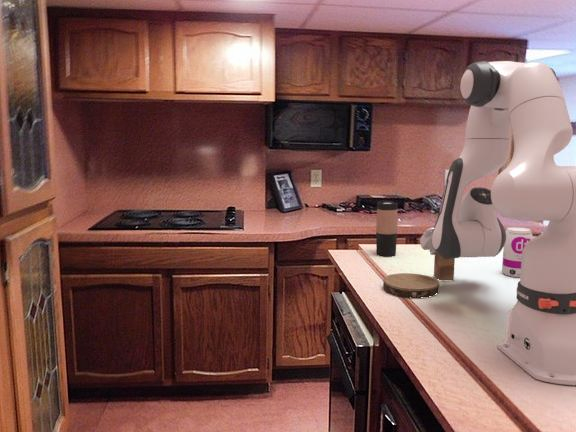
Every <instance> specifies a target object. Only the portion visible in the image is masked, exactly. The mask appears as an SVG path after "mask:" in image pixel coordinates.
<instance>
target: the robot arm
mask: <svg viewBox="0 0 576 432" xmlns="http://www.w3.org/2000/svg"><path fill="white" fill-rule="evenodd" d="M560 85H561V84H560V83H559V81H558V76H557V74H556V71H555V70H554V69H553V68H552V67H550V66H549V65H547V64H546V63H543V62H541V61H540V62H538V61H531V62H518V61H513V60H499V61H498V60H497V61H487V60H483V61H477V62H472V63H470V64H469V65H468V66H467V67H466V68H465V69H464V71H463V72H462V75H461V78H460V83H459V93H460V97H461V99H462V100H463V102H464V103H465V105H466V104H467V105H469V106H470V108H469V110H468V111H469V112H468V117H467V120H466V121H467V122H466V127H465V135H464V145H463V148H462V151H461V153H460V155H459V157H457V158H456V159H455V160H453V161H452V162H451V165H450V166H449V170H448V171H447V176H446V180H445V183H444V189H443V191H442V192H443V193H442V197H441V202H440V206H439V210H438V213H437V218H436V222H435V224H434V226H433V227H429V228H427V229H426V230H425V231H424V232H423V234H422V235H421V237H420V238H419V243H420V247H421V249H422V250H424V251H429V254H430V256H435V255H436V253H438V254H439V255H440V256H441V257H443V258H444V259H452V258H455V259H458V258H491V257H493V258H494V257H496V256H497V255H499V254H500V253H501V252H502V250H503V248H504V244H505V241H506V232H505V231H506V229H505V227H504V225H503V223H502V222H501V220H500V219H499V217H498V215H497V213H498V214H499V215H500V216H501V217H503V218H507V219H511V220H512V219H513V220H518V221H523V222H538V221H539V222H543V221H545V222H547V221H548V224H547V226H546V227H545V229H544V230H543V231H542V233H540V234H539V235H538V236H535V237H534V238H532V240H530V241H529V242H528V243H527V244H526V245H525V247H524V249H523V251H522V262H521V276H520V278H519V281H518V282H517V286H516V300H517V301H516V303H515V304H514V306H513V307H512V308H510V310H509V311H508V315H507V319H506V320H507V321H506V328H505V329H506V330H505V336H504V339H503V340H500V341H498V343H497V348H498V350H500V351H501V352H502V353H504V355H506V357H508V358H509V359H510V360H512V361H513V362H514V363H515V364H517V366H519V367H520V368H521V369H523V371H524V372H527V373H528V374H529V375H530V376H531V377H532V378H533V379H536V380H538V381H542V382H547V383H552V384H557V385H569V386H576V165H569V166H568V165H561V166H560V165H557V164H556V161H555V155H556V154H559V153H561V151H563V150H564V149H566V147H567V146H568V145H569V144H570V142H571V140H572V138H573V134H574V133H573V132H574V130H573V126H572V122H571V118H570V114H569V111H568V107H567V103H566V99H565V97H564V92H563V91H562V90H563V89H562V88H561V86H560ZM511 139H513V154H512V158H511V160H510V162H509V163H508V165H507V167H506V168H505V169H503V170H502V171H501V172H500V173H499V174H498V175H497V176H496V177H495V179H494V180H493V183H492V185H491V188H490V189H489V188H487V187H482V186H481V187H480V186H479V187H477V186H476V187H473V188H470V189H469V190H467V192H465V190H466V188H467V187H468V186H469V185H470V184H471V183H473V182H474V181H476V180H479V179H481V178H483V177H486V176H489V175H492V174H493V173H495V172H497V171H499V170H500V169H502V168H503V166H505V165H506V163H507V162H508V160H509V157H510V152H511V145H512V144H511V142H512V140H511ZM464 192H465V194H464Z"/></svg>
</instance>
